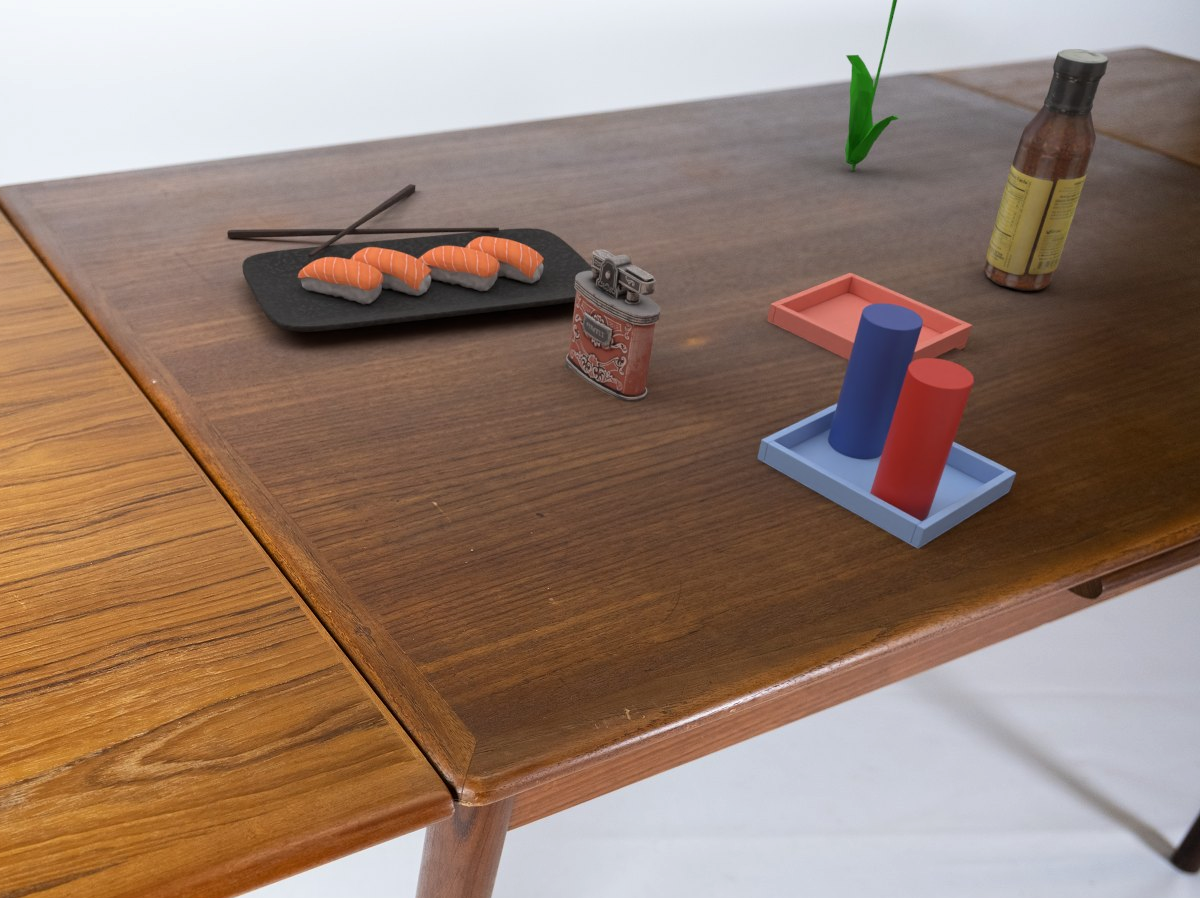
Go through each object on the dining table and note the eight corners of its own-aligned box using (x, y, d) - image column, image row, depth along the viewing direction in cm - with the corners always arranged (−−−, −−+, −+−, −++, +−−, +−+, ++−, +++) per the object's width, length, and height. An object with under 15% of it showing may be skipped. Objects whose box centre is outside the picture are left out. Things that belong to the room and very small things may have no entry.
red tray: (965, 347, 106) (972, 324, 105) (887, 385, 100) (894, 361, 99) (844, 294, 113) (850, 272, 112) (765, 326, 107) (770, 303, 106)
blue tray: (1007, 498, 88) (1016, 472, 87) (915, 555, 82) (924, 528, 81) (849, 418, 96) (856, 393, 94) (755, 465, 89) (761, 439, 88)
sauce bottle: (1045, 271, 120) (1124, 50, 108) (1053, 298, 115) (1137, 70, 103) (974, 261, 121) (1044, 40, 109) (979, 287, 116) (1053, 59, 104)
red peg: (940, 509, 85) (986, 376, 79) (906, 530, 83) (951, 395, 77) (890, 483, 88) (931, 351, 81) (856, 502, 85) (895, 368, 79)
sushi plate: (276, 354, 98) (275, 308, 95) (196, 206, 119) (193, 166, 117) (616, 313, 107) (622, 270, 105) (485, 183, 129) (487, 145, 126)
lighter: (554, 366, 99) (568, 243, 93) (588, 356, 101) (604, 234, 94) (621, 412, 94) (640, 285, 88) (656, 401, 96) (677, 276, 89)
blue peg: (895, 448, 91) (935, 319, 85) (862, 465, 89) (901, 335, 83) (849, 424, 94) (885, 297, 87) (816, 441, 91) (850, 312, 85)
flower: (905, 173, 139) (990, -141, 121) (870, 190, 134) (953, -135, 116) (835, 151, 143) (906, -156, 125) (798, 167, 138) (867, -150, 120)
